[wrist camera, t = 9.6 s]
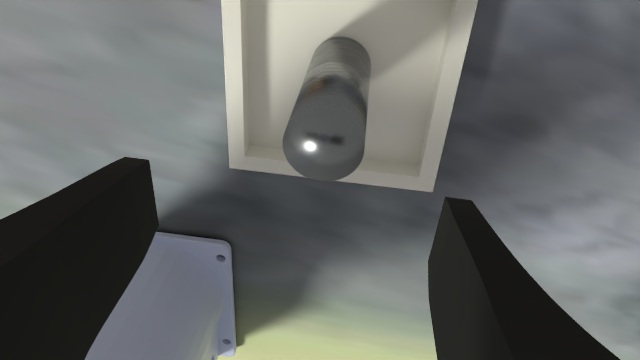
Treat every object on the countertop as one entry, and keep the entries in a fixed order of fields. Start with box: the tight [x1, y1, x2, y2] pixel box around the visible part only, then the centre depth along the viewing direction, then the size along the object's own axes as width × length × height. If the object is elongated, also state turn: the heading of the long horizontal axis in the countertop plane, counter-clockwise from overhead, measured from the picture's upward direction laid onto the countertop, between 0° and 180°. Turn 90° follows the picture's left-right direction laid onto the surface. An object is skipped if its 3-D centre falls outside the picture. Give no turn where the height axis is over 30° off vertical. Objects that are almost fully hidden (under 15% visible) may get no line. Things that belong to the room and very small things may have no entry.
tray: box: [221, 0, 478, 192], centre depth 20 cm, size 9×9×2 cm
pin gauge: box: [283, 37, 371, 181], centre depth 17 cm, size 2×2×6 cm
